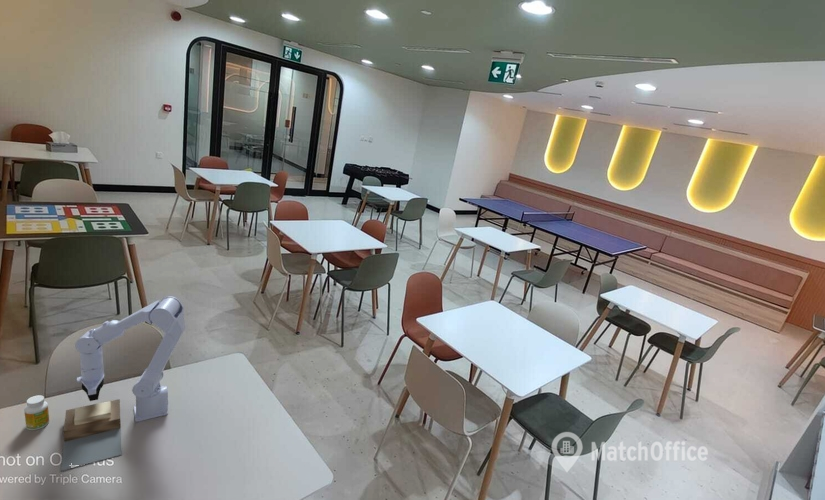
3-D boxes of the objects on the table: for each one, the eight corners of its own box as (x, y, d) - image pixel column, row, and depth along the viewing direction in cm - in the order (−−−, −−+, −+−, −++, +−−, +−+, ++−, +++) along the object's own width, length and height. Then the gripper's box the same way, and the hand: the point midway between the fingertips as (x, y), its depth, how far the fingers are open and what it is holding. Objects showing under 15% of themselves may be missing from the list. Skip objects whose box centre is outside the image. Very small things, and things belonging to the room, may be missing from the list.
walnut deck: (119, 408, 137) (119, 399, 136) (120, 428, 130) (120, 418, 129) (66, 420, 129) (66, 410, 127) (64, 441, 121) (63, 431, 120)
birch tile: (110, 405, 133) (110, 400, 132) (110, 417, 128) (110, 412, 128) (75, 413, 127) (75, 408, 127) (74, 425, 123) (74, 420, 122)
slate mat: (120, 428, 130) (120, 428, 129) (121, 455, 121) (121, 454, 121) (64, 442, 121) (64, 441, 121) (60, 471, 112) (60, 470, 112)
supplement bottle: (35, 432, 122) (32, 407, 119) (21, 427, 123) (18, 402, 120) (54, 421, 127) (51, 396, 125) (40, 416, 128) (37, 391, 125)
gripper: (77, 355, 132) (79, 388, 136) (74, 380, 121) (77, 416, 125) (104, 351, 136) (105, 384, 140) (103, 376, 125) (105, 410, 129)
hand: (93, 399), depth 133 cm, fingers closed
